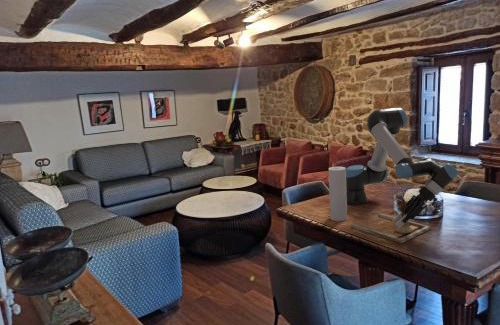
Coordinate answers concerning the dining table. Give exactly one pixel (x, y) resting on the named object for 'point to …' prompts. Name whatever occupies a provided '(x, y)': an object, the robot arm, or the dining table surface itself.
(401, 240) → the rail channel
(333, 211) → the cylinder container
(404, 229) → the hand bell
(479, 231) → the dining table surface
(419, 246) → the dining table surface
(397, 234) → the tan wooden strip
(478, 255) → the dining table surface
